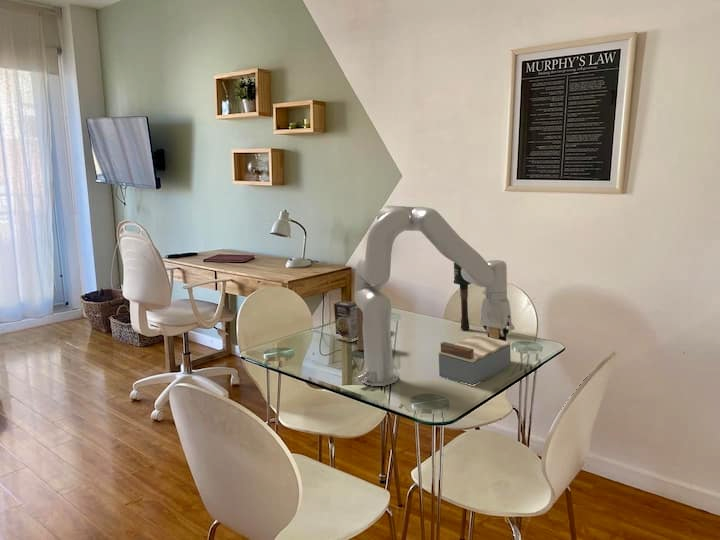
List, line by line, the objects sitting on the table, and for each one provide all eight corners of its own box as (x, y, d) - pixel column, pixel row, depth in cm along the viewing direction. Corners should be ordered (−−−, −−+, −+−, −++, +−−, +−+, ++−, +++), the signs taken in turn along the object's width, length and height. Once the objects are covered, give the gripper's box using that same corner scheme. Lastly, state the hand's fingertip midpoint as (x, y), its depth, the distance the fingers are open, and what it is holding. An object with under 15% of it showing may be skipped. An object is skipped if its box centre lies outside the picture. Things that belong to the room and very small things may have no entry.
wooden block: (384, 350, 215) (381, 306, 211) (357, 351, 216) (354, 307, 212) (384, 347, 218) (382, 304, 215) (358, 348, 219) (355, 305, 216)
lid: (472, 362, 174) (472, 351, 173) (438, 353, 184) (438, 342, 183) (510, 344, 188) (510, 333, 187) (476, 336, 198) (476, 326, 198)
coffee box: (335, 339, 232) (333, 303, 229) (345, 335, 236) (343, 300, 233) (351, 343, 226) (349, 306, 223) (361, 339, 231) (359, 302, 227)
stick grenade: (460, 325, 240) (458, 259, 234) (478, 328, 235) (476, 260, 229) (451, 331, 233) (449, 262, 227) (470, 333, 228) (468, 264, 222)
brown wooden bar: (498, 363, 194) (498, 314, 190) (489, 360, 196) (488, 313, 193) (505, 360, 196) (504, 312, 193) (495, 357, 199) (494, 310, 196)
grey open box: (473, 386, 175) (472, 363, 174) (439, 376, 185) (438, 354, 184) (510, 366, 190) (510, 345, 188) (477, 358, 200) (476, 337, 198)
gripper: (470, 294, 195) (471, 342, 199) (511, 300, 183) (511, 352, 187) (482, 290, 200) (483, 337, 204) (522, 296, 188) (523, 346, 191)
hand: (496, 343), depth 195 cm, fingers closed on brown wooden bar, 4 cm apart
